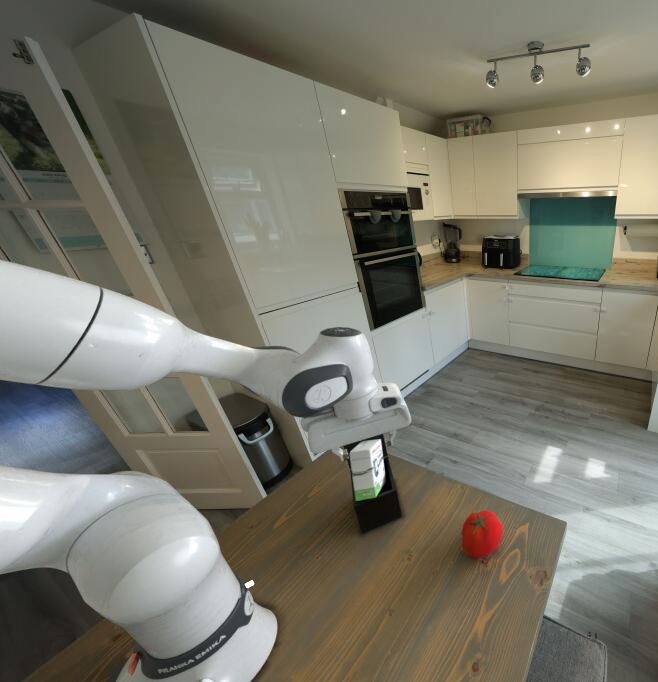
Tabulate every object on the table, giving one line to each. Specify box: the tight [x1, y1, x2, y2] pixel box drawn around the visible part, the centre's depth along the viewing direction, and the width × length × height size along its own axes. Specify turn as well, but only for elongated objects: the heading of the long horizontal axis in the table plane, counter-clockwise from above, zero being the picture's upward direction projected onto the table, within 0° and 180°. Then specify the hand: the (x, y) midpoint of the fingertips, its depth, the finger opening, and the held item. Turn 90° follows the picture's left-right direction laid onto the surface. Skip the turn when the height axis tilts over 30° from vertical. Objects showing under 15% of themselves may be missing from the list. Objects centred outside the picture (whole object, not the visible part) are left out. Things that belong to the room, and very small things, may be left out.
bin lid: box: [342, 434, 389, 470], centre depth 83 cm, size 13×10×5 cm
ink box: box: [350, 439, 386, 501], centre depth 77 cm, size 9×5×12 cm, turn 7°
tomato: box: [461, 509, 504, 559], centre depth 72 cm, size 9×10×8 cm
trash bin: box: [349, 456, 403, 534], centre depth 81 cm, size 13×10×10 cm
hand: (368, 451), depth 71 cm, fingers open, 8 cm apart
